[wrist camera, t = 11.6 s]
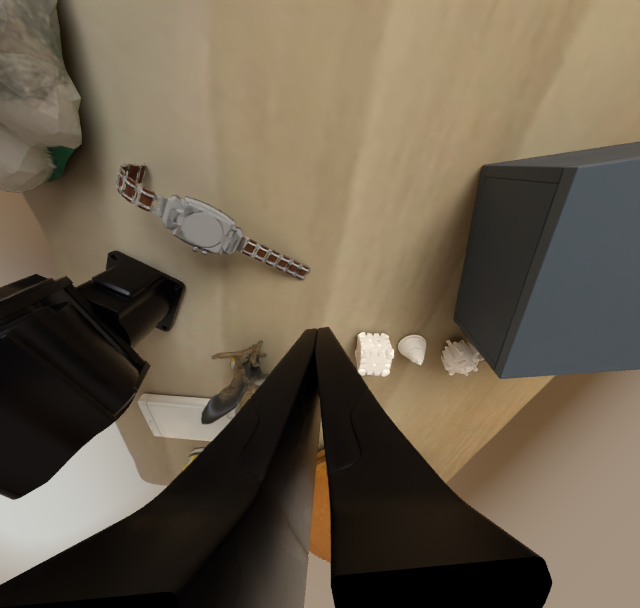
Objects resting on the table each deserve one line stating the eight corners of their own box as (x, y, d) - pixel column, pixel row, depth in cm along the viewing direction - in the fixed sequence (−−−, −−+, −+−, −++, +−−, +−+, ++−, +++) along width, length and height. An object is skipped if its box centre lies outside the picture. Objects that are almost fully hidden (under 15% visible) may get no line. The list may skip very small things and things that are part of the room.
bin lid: (852, 124, 10) (888, 122, 9) (659, 360, 17) (671, 367, 16) (564, 166, 11) (578, 167, 10) (493, 371, 18) (499, 379, 17)
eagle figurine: (203, 331, 24) (192, 399, 27) (220, 379, 19) (204, 456, 22) (272, 329, 28) (256, 386, 31) (300, 367, 23) (278, 431, 26)
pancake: (272, 534, 37) (265, 578, 32) (307, 425, 34) (306, 453, 29) (392, 559, 39) (405, 604, 34) (434, 456, 36) (455, 488, 31)
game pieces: (354, 353, 26) (357, 376, 23) (358, 329, 24) (361, 351, 22) (462, 358, 26) (478, 382, 23) (474, 335, 24) (492, 357, 21)
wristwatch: (138, 142, 16) (104, 155, 13) (308, 239, 24) (318, 264, 20) (127, 190, 18) (95, 213, 14) (290, 266, 25) (296, 294, 22)
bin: (648, 140, 15) (835, 127, 10) (567, 309, 22) (649, 360, 17) (482, 165, 17) (563, 166, 11) (453, 320, 23) (493, 371, 18)
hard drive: (235, 410, 30) (135, 402, 29) (241, 445, 34) (153, 439, 34) (239, 399, 31) (144, 391, 31) (244, 434, 35) (161, 427, 35)
